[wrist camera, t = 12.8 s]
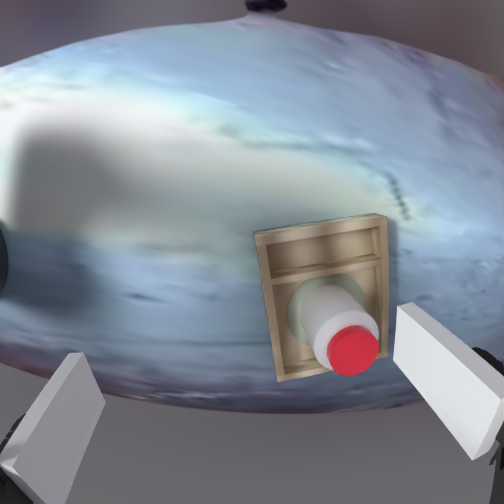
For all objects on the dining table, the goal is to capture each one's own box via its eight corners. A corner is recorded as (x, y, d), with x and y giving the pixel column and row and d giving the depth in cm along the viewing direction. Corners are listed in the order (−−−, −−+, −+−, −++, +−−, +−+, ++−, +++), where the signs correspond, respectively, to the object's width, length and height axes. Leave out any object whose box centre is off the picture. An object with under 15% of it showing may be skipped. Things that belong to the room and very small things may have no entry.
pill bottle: (313, 346, 42) (335, 395, 31) (289, 303, 40) (307, 346, 30) (362, 319, 42) (396, 360, 31) (341, 273, 40) (375, 307, 29)
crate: (275, 367, 44) (277, 381, 40) (253, 232, 39) (255, 237, 35) (378, 344, 44) (387, 356, 41) (374, 213, 39) (386, 216, 36)
